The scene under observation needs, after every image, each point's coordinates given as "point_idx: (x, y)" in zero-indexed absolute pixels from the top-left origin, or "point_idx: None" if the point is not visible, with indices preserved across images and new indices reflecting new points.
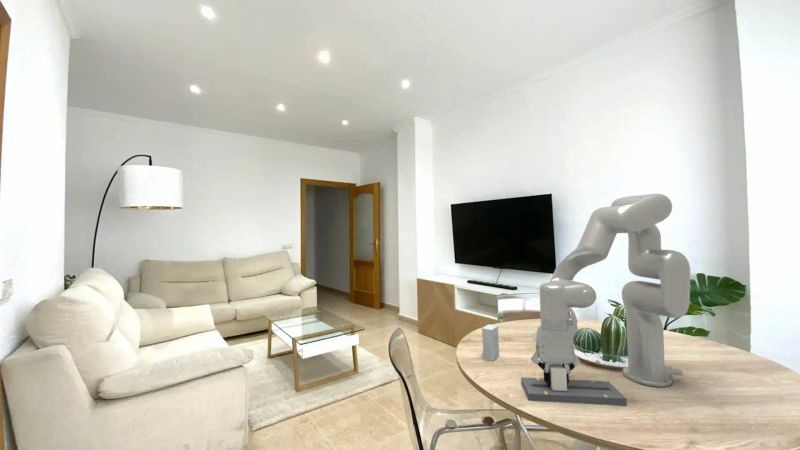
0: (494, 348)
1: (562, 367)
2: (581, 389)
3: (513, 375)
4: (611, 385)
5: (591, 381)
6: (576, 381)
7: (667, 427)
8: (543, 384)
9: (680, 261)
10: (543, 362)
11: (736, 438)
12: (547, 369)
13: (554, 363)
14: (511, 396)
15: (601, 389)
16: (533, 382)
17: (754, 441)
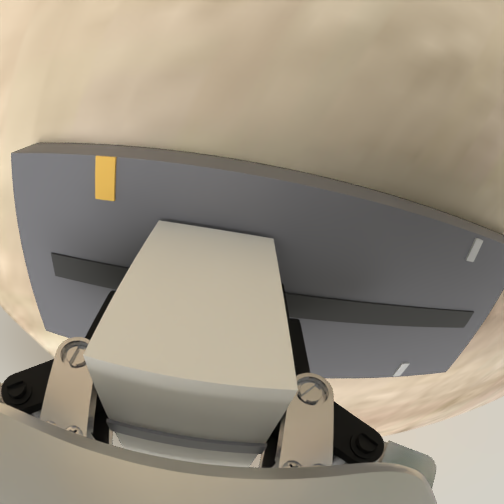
0: None
1: (240, 457)
2: (348, 329)
3: (30, 36)
4: (500, 289)
5: (470, 252)
6: (400, 238)
7: (417, 409)
8: (124, 260)
9: None
10: (54, 410)
11: (472, 405)
12: (101, 416)
13: (191, 415)
14: (4, 272)
15: (437, 326)
16: (66, 229)
17: (480, 404)
